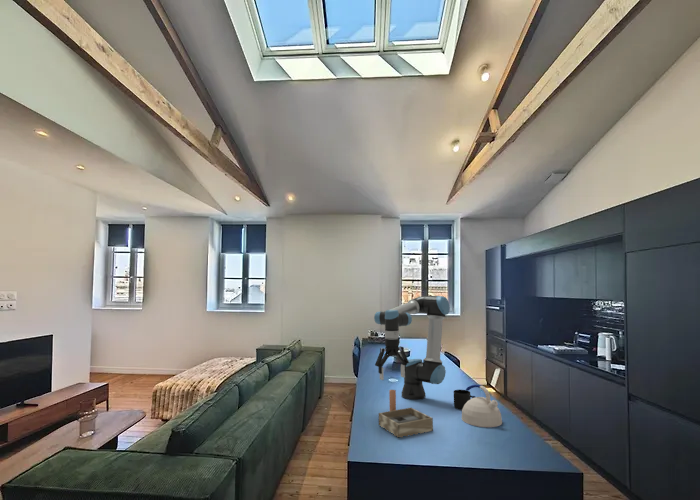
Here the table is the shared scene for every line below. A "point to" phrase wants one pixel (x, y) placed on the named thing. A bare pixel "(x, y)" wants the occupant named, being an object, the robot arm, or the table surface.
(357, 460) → the table surface
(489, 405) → the kettle
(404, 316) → the robot arm
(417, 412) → the box
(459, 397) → the mug
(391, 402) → the peg
